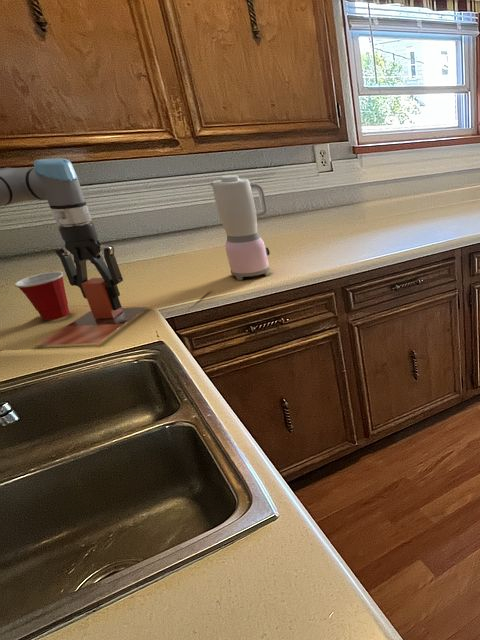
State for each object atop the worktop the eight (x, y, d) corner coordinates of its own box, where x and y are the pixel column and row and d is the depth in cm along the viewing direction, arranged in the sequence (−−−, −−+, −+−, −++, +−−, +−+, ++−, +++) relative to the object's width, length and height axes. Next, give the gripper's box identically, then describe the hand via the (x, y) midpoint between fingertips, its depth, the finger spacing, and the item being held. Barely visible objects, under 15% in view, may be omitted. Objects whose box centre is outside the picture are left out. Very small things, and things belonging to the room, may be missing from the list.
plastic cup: (38, 314, 147) (20, 274, 141) (83, 308, 151) (67, 268, 145) (26, 328, 138) (6, 286, 132) (74, 321, 142) (57, 280, 136)
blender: (237, 282, 169) (213, 180, 154) (227, 274, 178) (202, 176, 163) (285, 273, 178) (266, 175, 163) (273, 265, 186) (253, 171, 172)
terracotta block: (94, 318, 141) (80, 283, 136) (104, 311, 145) (92, 277, 141) (113, 318, 141) (100, 283, 137) (123, 311, 146) (111, 277, 141)
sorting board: (36, 348, 127) (35, 345, 127) (94, 311, 148) (93, 309, 148) (99, 345, 128) (98, 342, 127) (148, 309, 149) (147, 307, 149)
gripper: (27, 228, 128) (63, 315, 139) (103, 226, 129) (133, 312, 140) (48, 221, 135) (81, 304, 145) (120, 219, 136) (147, 302, 146)
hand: (106, 308), depth 143 cm, fingers closed on terracotta block, 5 cm apart
